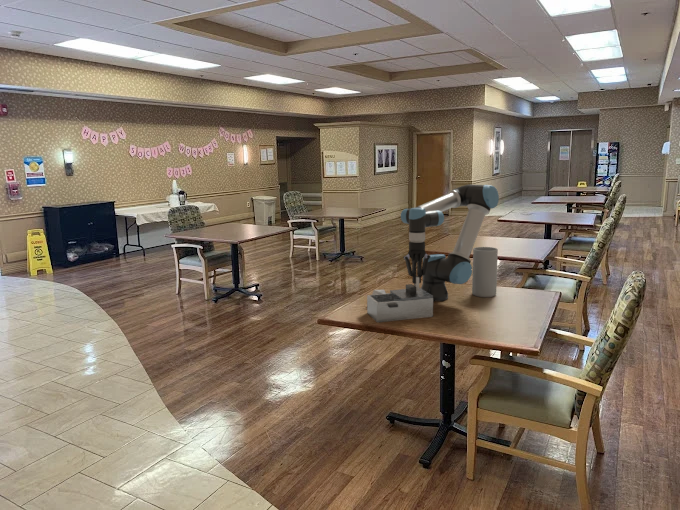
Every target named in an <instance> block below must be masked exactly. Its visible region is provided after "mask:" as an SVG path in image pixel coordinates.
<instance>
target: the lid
mask: <svg viewBox="0 0 680 510" xmlns="http://www.w3.org/2000/svg"><path fill="white" fill-rule="evenodd" d="M389 293H392V294H393V295H394V296H396V297H397V298H398V299H400V300H401V301H403V300H414V299H424V298H433V295H431V294H429V293H428V292H426V291H424V290H423V289H421V287H419V291H416V286H414V284H413V283H411V284H409V283H408V284H405V288H401V289H400V288H399V289H391V290H389Z"/></svg>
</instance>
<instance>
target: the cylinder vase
mask: <svg viewBox="0 0 680 510" xmlns="http://www.w3.org/2000/svg"><path fill="white" fill-rule="evenodd" d="M498 249H499V248H496V247H493V246H492V247H490V246H478V247H473V248H472V251H473V252H472V281H471V285H472V287H471V294H472V295H473V296H475V297H480V298H493V297H495V296H496V295H497V284H498V281H497V280H498Z"/></svg>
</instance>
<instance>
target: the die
mask: <svg viewBox="0 0 680 510" xmlns="http://www.w3.org/2000/svg"><path fill="white" fill-rule="evenodd" d="M386 293H387V292H386V291H385V289H373V291H372V293H371V295H375V294H386Z"/></svg>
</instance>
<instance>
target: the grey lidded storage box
mask: <svg viewBox="0 0 680 510" xmlns="http://www.w3.org/2000/svg"><path fill="white" fill-rule="evenodd" d="M366 301H367V303H366V307H367V309H366V310H367V314H368V315H369V317H371V319H373V320H374V321H375V322H376V323H384V322H385V323H386V322H395V321H403V320H404V321H405V320H414V319H423V318H424V319H425V318H432V317H434V301H433V298H424V299H414V300H403V301H401V300H400V299H398V298H397V297H396V296H394V295H393V294H392V293H390V292H389V293H387V292H386V294H375V295H372V294H367V296H366Z"/></svg>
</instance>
